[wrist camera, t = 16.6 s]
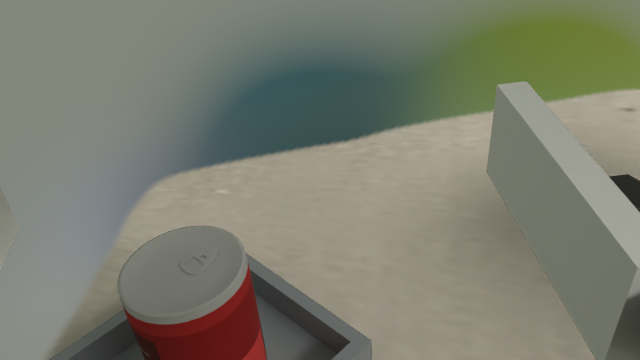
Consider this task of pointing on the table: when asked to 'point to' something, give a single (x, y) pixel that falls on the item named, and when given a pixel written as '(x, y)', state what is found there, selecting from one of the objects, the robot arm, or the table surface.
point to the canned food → (192, 297)
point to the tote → (276, 322)
